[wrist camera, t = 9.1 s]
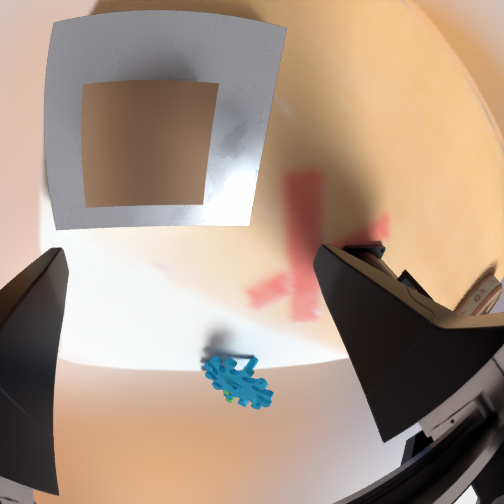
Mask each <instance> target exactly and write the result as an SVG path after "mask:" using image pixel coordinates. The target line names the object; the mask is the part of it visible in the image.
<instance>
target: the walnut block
mask: <svg viewBox="0 0 504 504" xmlns="http://www.w3.org/2000/svg"><path fill="white" fill-rule="evenodd" d="M218 87H219V83H209V82H197V81H179V80H129V81H112V82H100V83H90V84H83V93H82V114H81V150H82V171H83V184H84V195H85V204H86V208H93V207H115V206H146V205H203V201H204V191H205V182H206V173H207V165H208V156H209V148H210V141H211V133H212V126H213V119H214V112H215V106H216V99H217V93H218Z"/></svg>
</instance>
